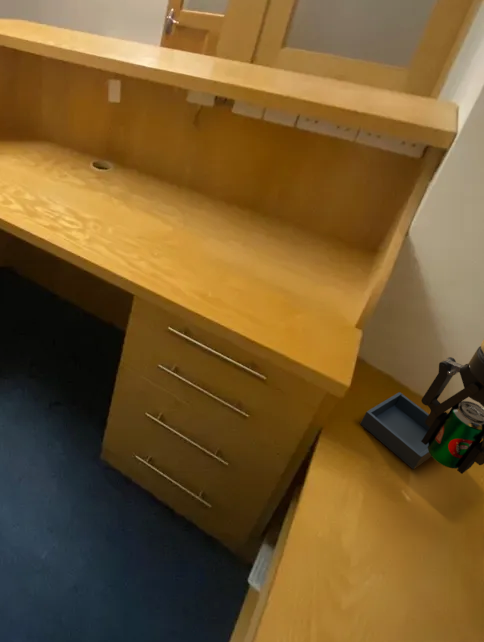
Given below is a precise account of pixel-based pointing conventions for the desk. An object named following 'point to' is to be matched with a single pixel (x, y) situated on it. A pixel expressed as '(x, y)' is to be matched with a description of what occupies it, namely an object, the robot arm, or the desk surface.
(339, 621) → the desk surface
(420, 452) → the tub
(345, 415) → the desk surface
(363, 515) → the desk surface
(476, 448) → the robot arm
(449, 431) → the soda can
